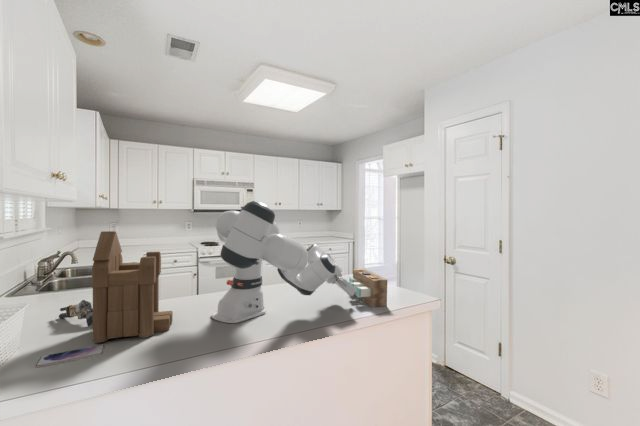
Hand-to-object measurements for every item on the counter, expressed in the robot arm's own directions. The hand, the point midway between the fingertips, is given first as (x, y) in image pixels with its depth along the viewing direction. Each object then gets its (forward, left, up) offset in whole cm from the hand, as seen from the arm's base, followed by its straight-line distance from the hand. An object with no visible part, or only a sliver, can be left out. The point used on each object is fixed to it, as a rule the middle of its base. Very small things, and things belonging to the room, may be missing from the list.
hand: (352, 294), depth 137 cm
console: (+14, -3, -5) cm, 16 cm away
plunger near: (+5, -5, -1) cm, 7 cm away
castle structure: (-62, +58, -6) cm, 85 cm away
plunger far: (+19, +5, -1) cm, 19 cm away
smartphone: (-85, +52, -6) cm, 100 cm away
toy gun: (-72, +79, -6) cm, 107 cm away
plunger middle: (+11, +1, -1) cm, 11 cm away
